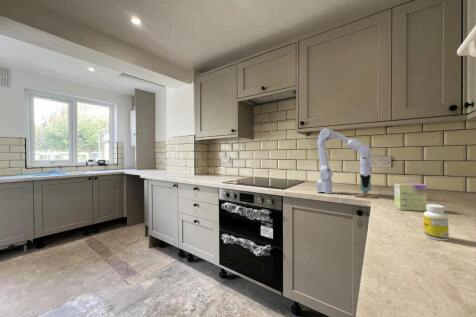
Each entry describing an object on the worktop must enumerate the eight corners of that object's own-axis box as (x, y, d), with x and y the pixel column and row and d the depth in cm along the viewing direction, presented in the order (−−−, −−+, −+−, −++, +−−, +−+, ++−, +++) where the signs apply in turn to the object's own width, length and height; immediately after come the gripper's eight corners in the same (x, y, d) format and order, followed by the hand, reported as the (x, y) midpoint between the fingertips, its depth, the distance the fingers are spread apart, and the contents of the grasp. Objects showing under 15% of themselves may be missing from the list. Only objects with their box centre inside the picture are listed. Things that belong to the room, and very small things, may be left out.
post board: (355, 197, 125) (355, 188, 125) (355, 194, 134) (355, 186, 134) (376, 198, 119) (376, 189, 119) (375, 195, 128) (375, 187, 128)
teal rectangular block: (360, 190, 125) (360, 179, 125) (360, 189, 130) (360, 178, 130) (370, 190, 123) (370, 180, 123) (370, 189, 127) (370, 179, 127)
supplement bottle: (423, 232, 66) (422, 202, 66) (447, 236, 62) (446, 205, 62) (424, 238, 62) (423, 206, 62) (450, 242, 58) (449, 208, 58)
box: (419, 208, 96) (419, 183, 96) (427, 211, 90) (427, 185, 90) (394, 207, 99) (393, 183, 99) (399, 210, 93) (399, 184, 93)
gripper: (373, 165, 118) (373, 188, 118) (372, 164, 130) (372, 185, 131) (359, 165, 122) (359, 188, 122) (359, 164, 134) (359, 185, 134)
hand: (365, 186), depth 126 cm, fingers closed on teal rectangular block, 5 cm apart
